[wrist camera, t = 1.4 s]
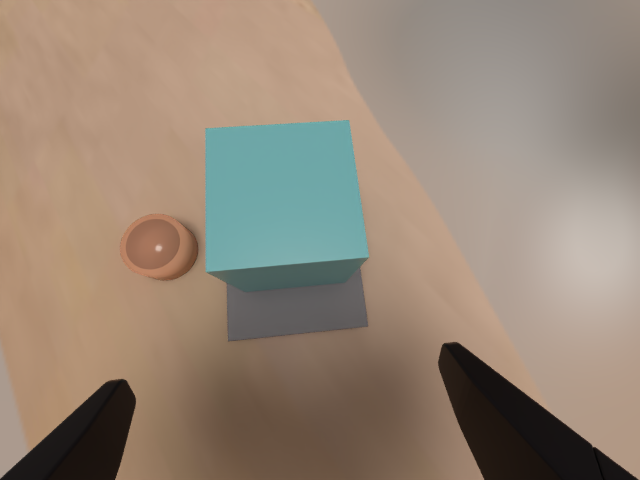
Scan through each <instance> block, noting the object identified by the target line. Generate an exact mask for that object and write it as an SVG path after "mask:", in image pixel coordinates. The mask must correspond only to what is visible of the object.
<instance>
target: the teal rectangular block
mask: <svg viewBox="0 0 640 480" xmlns="http://www.w3.org/2000/svg"><path fill="white" fill-rule="evenodd" d="M368 258H369V254H368V247H367V240H366V233H365V226H364V220H363V213H362V206H361V199H360V192H359V185H358V178H357V172H356V165H355V158H354V151H353V144H352V137H351V130H350V124H349V120H343V121H326V122H308V123H291V124H274V125H256V126H239V127H222V128H206V272H207V273H209V274H211V275H213V276H215V277H217V278H218V279H220V280H222V281H224V282H226V283H228V284H230V285H232V286H234V287H236V288H238V289H240V290H242V291H244V292H252V291H262V290H273V289H283V288H294V287H304V286H314V285H325V284H335V283H345V282H346V281H347V280H348V279H349V278H350V277H351V276H352V275H353V274H354V272H355V271H356V270H357V269H358V268H359V267H360V266H361V265H362V264H363V263H364V262H365V261H366V260H367V259H368Z"/></svg>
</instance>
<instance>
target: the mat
mask: <svg viewBox="0 0 640 480" xmlns="http://www.w3.org/2000/svg"><path fill="white" fill-rule="evenodd" d="M227 319H228V341H235V340H244V339H254V338H263V337H273V336H282V335H291V334H301V333H310V332H320V331H329V330H338V329H348V328H357V327H367V326H368V322H367V314H366V307H365V300H364V292H363V285H362V278H361V270H360V267H359V268H358V269H357V270H356V271H355V272H354V274H353V275H352V276H351V277H350V278H349V279H348V280H347V281H346V282H345V283H335V284H325V285H314V286H304V287H294V288H283V289H273V290H262V291H252V292H244V291H242V290H240V289H238V288H236V287H234V286H232V285H230V284H228V283H227Z"/></svg>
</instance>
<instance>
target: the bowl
mask: <svg viewBox="0 0 640 480" xmlns="http://www.w3.org/2000/svg"><path fill="white" fill-rule="evenodd" d="M120 252H121V257H122V259H123V262H124V263H125V265H126V266H127V267H128V268H129V269H130V270H132V271H134V272H135V273H138V274H141V275H144V276H148V277H151V278H154V279H158V280H172V279H175V278H178V277H180V276H182V275H183V274H185V273H186V272H187V271H188V270H189V269H190V268H191V267H192V265H193V264H194V262H195V260H196V257H197V253H198V246H197V241H196V239H195V237H194V235H193V234H192V233H191V232H190V231H189V230H188V229H187V228H185V227H184V226H183V225H182V224H180V223H179V222H178V221H176V220H175V219H174V218H172V217H170V216H167V215H163V214H151V215H147V216H144V217H142V218H140V219H138V220H136V221H135V222H134V223H132V224H131V225H130V226H129V227H128V229H127V230H126V232H125V233H124V235H123V237H122V240H121V245H120Z"/></svg>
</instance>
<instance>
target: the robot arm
mask: <svg viewBox="0 0 640 480" xmlns="http://www.w3.org/2000/svg"><path fill="white" fill-rule="evenodd" d="M438 366H439V370H440V373H441V376H442V379H443V382H444V384H445V387H446V390H447V393H448V396H449V399H450V401H451V404H452V407H453V410H454V413H455V416H456V418H457V421H458V423H459V426H460V428H461V430H462V432H463V435H464V437H465V439H466V441H467V443H468V445H469V447H470V450H471V452H472V454H473V456H474V458H475V460H476V463H477V465H478V467H479V469H480V471H481V473H482V475H483V478H484V480H638V479H637V478H636V477H634V476H633V475H632V474H630V473H629V472H628V471H626V470H625V469H624V468H622V467H621V466H620V465H618V464H617V463H615V462H614V461H613V460H612V459H610V458H609V457H608V456H606V455H605V454H604V453H602V452H601V451H600V450H598V449H597V448H596V447H592V445H591V444H590V443H589V442H588V441H586V440H585V439H584V438H582V437H581V436H580V435H579V434H577V433H576V432H575V431H573V430H572V429H571V428H569V427H568V426H567V425H566V424H564V423H563V422H562V421H560V420H559V419H558V418H556V417H555V416H554V415H552V414H551V413H550V412H549V411H547V410H546V409H545V408H543V407H542V406H541V405H539V404H538V403H537V402H535V401H534V400H533V399H531V398H530V397H529V396H528V395H526V394H525V393H524V392H522V391H521V390H520V389H518V388H517V387H516V386H514V385H513V384H512V383H511V382H509V381H508V380H507V379H505V378H504V377H503V376H501V375H500V374H499V373H497V372H496V371H495V370H494V369H492V368H491V367H490V366H488V365H487V364H486V363H484V362H483V361H482V360H480V359H479V358H478V357H476V356H475V355H474V354H473V353H471V352H470V351H469V350H467V349H466V348H465V347H463V346H462V345H461V344H459V343H457V342H450V343H444V344H443V345H442V348H441V352H440V356H439V361H438ZM135 405H136V398H135V395H134V393H133V391H132V390H131V388H130V386H129V384H128V382H127V381H126V380H124V379H118V380H110V381H108V382H106V383H105V384H103V385H102V386H101V387H100V388H99V389H98V390H97V391H96V392H95V393H94V394H93V395H91V396H90V397H89V398H88V399H87V400H86V401H85V402H84V403H83V404H82V405H80V406H79V407H78V408H77V409H76V410H75V411H74V412H73V413H72V414H71V415H70V416H68V417H67V418H66V419H65V420H64V421H63V422H62V423H61V424H60V425H59V426H57V427H56V428H55V429H54V430H53V431H52V432H51V433H50V434H49V435H48V436H47V437H45V438H44V439H43V440H42V441H41V442H40V443H39V444H38V445H37V446H36V447H34V448H33V449H32V450H31V451H30V452H29V453H28V454H27V455H26V456H25V457H24V458H22V459H21V460H20V461H19V462H18V463H17V464H16V465H15V466H14V467H13V468H12V469H10V470H9V471H8V472H7V473H6V474H5V475H4V476H3V477H2V478H1V479H0V480H115V478H116V476H117V473H118V470H119V467H120V463H121V460H122V456H123V452H124V448H125V444H126V440H127V437H128V433H129V429H130V425H131V421H132V417H133V413H134V409H135Z"/></svg>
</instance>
